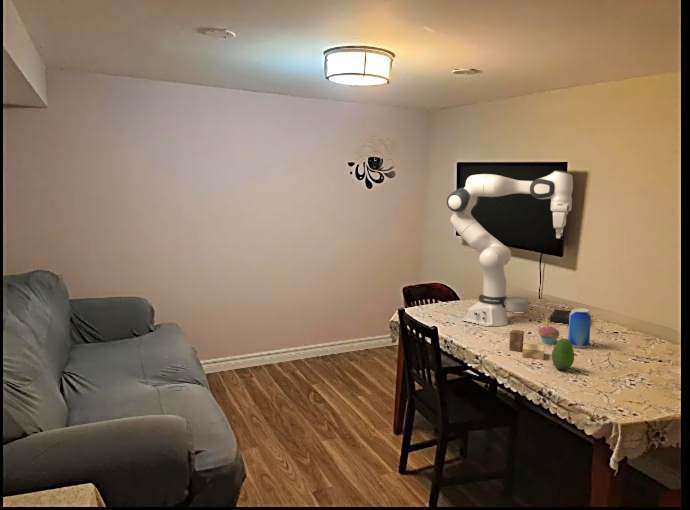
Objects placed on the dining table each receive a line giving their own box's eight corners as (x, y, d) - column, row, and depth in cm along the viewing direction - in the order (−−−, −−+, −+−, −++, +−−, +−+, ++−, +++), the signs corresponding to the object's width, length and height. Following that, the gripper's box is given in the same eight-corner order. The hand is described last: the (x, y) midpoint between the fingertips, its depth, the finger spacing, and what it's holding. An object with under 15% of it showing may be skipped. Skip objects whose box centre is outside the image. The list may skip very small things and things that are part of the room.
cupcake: (549, 346, 227) (550, 319, 225) (533, 341, 234) (535, 315, 233) (562, 343, 231) (564, 317, 229) (547, 338, 238) (548, 312, 237)
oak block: (522, 358, 213) (522, 348, 212) (523, 352, 220) (524, 343, 219) (543, 360, 210) (543, 351, 209) (544, 354, 217) (544, 345, 216)
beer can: (587, 344, 230) (590, 308, 228) (590, 349, 222) (592, 312, 220) (567, 342, 233) (569, 307, 231) (568, 347, 225) (570, 311, 223)
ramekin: (532, 314, 283) (533, 301, 282) (507, 314, 283) (508, 301, 283) (524, 308, 296) (525, 296, 295) (501, 308, 297) (501, 296, 296)
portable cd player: (586, 328, 257) (587, 320, 257) (549, 323, 266) (550, 315, 265) (590, 320, 271) (590, 313, 271) (554, 316, 280) (555, 309, 279)
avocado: (577, 371, 197) (579, 340, 195) (560, 373, 195) (562, 342, 193) (563, 364, 204) (565, 334, 203) (546, 366, 202) (547, 336, 201)
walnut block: (509, 350, 222) (510, 332, 221) (512, 347, 226) (513, 329, 224) (520, 352, 219) (520, 333, 218) (523, 349, 223) (523, 331, 222)
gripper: (555, 205, 249) (554, 234, 251) (551, 207, 231) (549, 238, 233) (570, 206, 246) (568, 235, 248) (566, 207, 228) (564, 239, 230)
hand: (559, 237), depth 241 cm, fingers open, 8 cm apart
